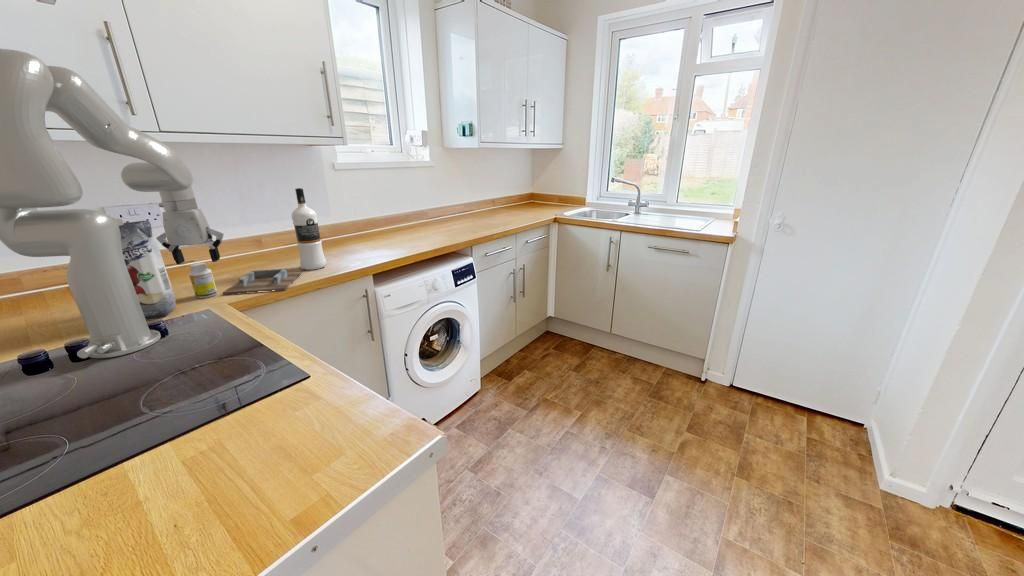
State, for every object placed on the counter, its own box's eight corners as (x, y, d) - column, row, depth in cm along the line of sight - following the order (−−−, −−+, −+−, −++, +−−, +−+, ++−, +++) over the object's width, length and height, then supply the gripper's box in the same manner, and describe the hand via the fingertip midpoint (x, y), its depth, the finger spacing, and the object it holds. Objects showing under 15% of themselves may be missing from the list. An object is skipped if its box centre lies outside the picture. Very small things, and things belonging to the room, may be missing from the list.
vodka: (322, 262, 157) (308, 186, 147) (330, 267, 151) (316, 188, 141) (297, 267, 151) (281, 188, 141) (305, 272, 145) (288, 190, 135)
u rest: (285, 290, 126) (282, 280, 125) (223, 295, 122) (220, 284, 121) (301, 274, 142) (300, 265, 141) (247, 278, 139) (245, 268, 138)
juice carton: (137, 312, 110) (102, 217, 101) (181, 306, 114) (151, 214, 105) (120, 324, 103) (80, 222, 94) (168, 318, 106) (135, 219, 97)
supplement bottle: (200, 293, 124) (191, 263, 121) (220, 291, 126) (212, 261, 122) (192, 299, 119) (182, 268, 116) (214, 297, 121) (204, 266, 117)
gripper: (137, 209, 108) (158, 267, 114) (207, 206, 111) (224, 263, 118) (155, 205, 115) (174, 260, 121) (220, 202, 118) (235, 256, 124)
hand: (198, 261), depth 119 cm, fingers open, 9 cm apart
